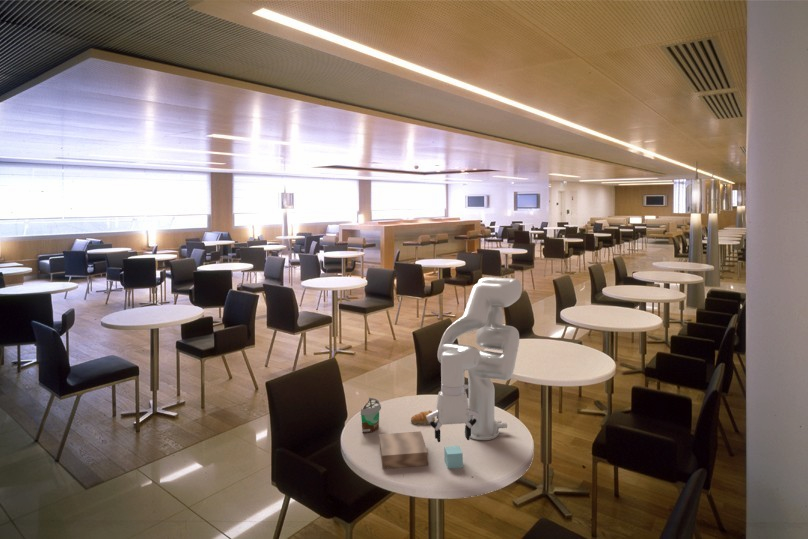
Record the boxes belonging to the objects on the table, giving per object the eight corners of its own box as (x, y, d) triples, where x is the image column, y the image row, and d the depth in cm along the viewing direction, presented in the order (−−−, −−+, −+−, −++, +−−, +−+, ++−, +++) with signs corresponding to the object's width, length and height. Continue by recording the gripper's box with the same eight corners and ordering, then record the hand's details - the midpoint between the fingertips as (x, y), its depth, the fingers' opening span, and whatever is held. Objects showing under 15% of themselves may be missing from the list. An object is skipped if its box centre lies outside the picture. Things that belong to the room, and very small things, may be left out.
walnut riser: (421, 443, 172) (421, 431, 172) (427, 465, 157) (427, 452, 157) (379, 446, 171) (379, 434, 170) (382, 468, 156) (382, 455, 155)
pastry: (414, 427, 185) (414, 417, 185) (408, 420, 192) (408, 411, 191) (436, 423, 189) (436, 413, 188) (429, 416, 195) (429, 407, 194)
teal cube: (459, 459, 161) (459, 445, 160) (462, 467, 156) (462, 453, 155) (444, 460, 160) (444, 446, 159) (447, 468, 155) (447, 454, 154)
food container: (377, 436, 178) (376, 410, 177) (361, 435, 179) (360, 409, 178) (385, 421, 190) (384, 397, 189) (370, 420, 191) (369, 396, 190)
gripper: (475, 383, 159) (475, 432, 161) (424, 386, 157) (425, 435, 159) (482, 391, 152) (481, 443, 154) (428, 394, 150) (428, 446, 152)
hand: (452, 439), depth 156 cm, fingers open, 9 cm apart
